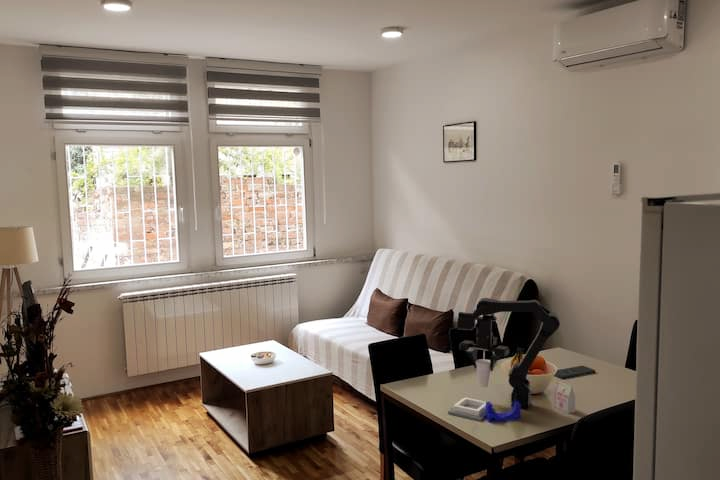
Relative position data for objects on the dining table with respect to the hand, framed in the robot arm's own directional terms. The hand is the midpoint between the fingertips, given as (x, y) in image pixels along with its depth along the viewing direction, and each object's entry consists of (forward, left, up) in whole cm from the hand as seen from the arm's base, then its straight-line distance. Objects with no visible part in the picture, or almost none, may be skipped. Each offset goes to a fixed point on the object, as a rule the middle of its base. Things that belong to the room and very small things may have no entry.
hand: (483, 369), depth 233 cm
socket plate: (0, +12, -13) cm, 18 cm away
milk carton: (-29, -9, -13) cm, 33 cm away
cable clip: (-13, +12, -13) cm, 22 cm away
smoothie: (0, 0, -6) cm, 7 cm away
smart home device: (-21, -53, -14) cm, 59 cm away
